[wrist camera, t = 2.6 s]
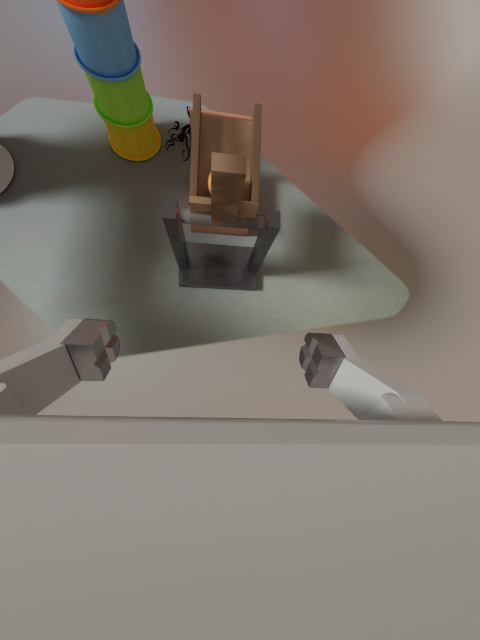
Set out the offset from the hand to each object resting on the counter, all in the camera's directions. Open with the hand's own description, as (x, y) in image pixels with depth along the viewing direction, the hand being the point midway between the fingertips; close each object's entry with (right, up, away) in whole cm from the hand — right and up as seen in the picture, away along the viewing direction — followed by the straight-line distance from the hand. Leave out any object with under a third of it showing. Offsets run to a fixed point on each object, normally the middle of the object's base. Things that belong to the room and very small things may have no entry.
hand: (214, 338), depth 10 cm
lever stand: (-3, +11, +35) cm, 37 cm away
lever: (-1, +20, +20) cm, 28 cm away
